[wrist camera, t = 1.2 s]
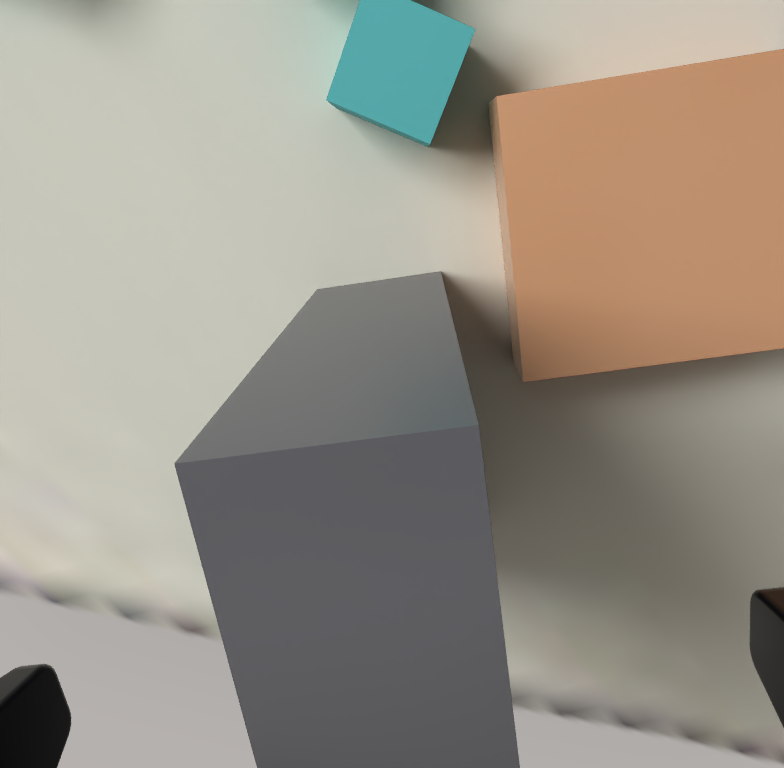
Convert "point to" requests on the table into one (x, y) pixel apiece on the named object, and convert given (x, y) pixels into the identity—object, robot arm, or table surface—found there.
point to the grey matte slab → (356, 541)
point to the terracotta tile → (643, 216)
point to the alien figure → (399, 66)
